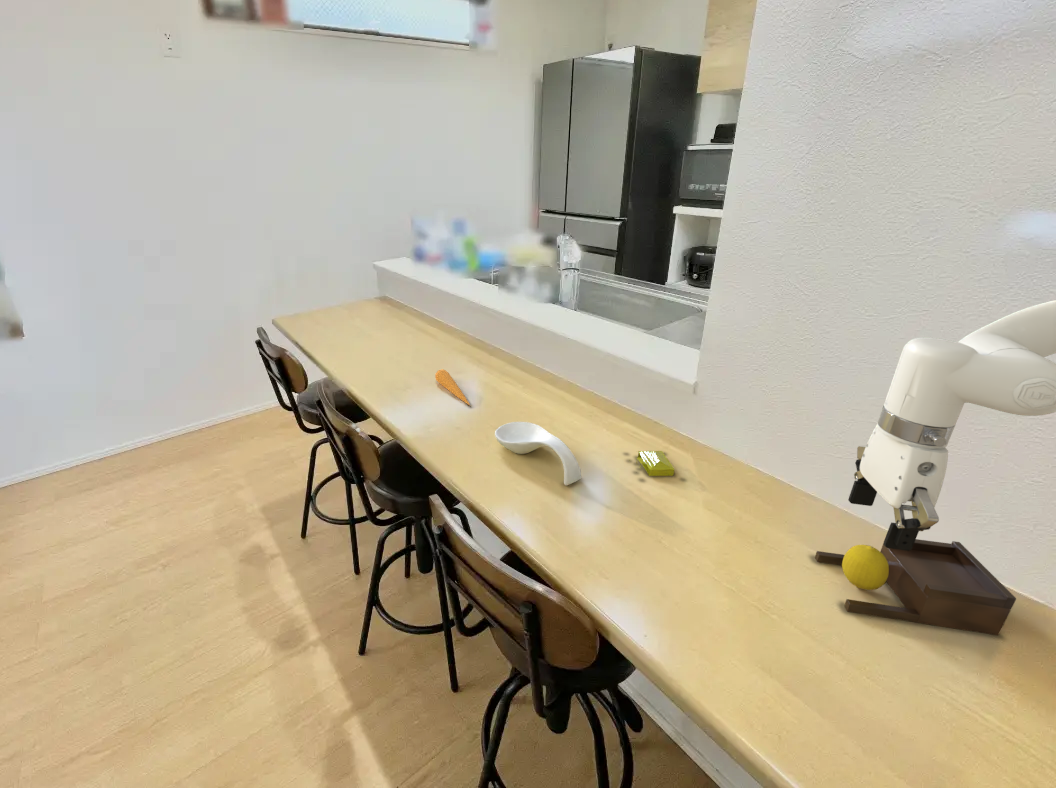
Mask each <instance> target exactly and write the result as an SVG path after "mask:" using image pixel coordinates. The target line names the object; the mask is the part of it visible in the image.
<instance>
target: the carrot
mask: <svg viewBox="0 0 1056 788" xmlns="http://www.w3.org/2000/svg"><path fill="white" fill-rule="evenodd" d="M434 377H435V381H436V382H438V383H439V384H440V385H441V386H442V387H444V388H445V389H446V390H448V391H449V392H450V393H452V394H453V395H454V396H455V397H457V398H458V399H459V400H461V401H462V402H464V403H465V404H467V405H468V406H471V404H470V402H469V400H468V399H467V396H466V395H465V394H464V392H463V391H462V390H461V388H460V387H459V385H458V384H457V382H456V381H455V380H454V378H453V377H452V375H451V374H450V373H449V372H448V371H447V370H446V369H444V368H442V369H438V370H437V371H436V372H435V376H434Z"/></svg>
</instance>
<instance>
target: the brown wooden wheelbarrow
mask: <svg viewBox="0 0 1056 788" xmlns="http://www.w3.org/2000/svg"><path fill="white" fill-rule="evenodd" d="M879 551H880V552H881V553H882V554H883V555H884V556H885V558H886V560H887V562H888V566H889V574H888V578H887V580H886V582H885V583H887V584H888V586H889V587H890V588H891V590H892V592H894V594H895V595H896V596H897V598H898V599H899V601H900V602H901V603H902V605H903V606H904V607H902V606H901V607H900V606H895V605H890V604H889V605H888V604H881V603H876V602H870V601H863V600H856V599H849V598H846V600H845V602H844V605H843V606H844V608H845V610H846V612H848V613H855V614H859V615H860V614H861V615H866V616H873V617H879V618H885V619H890V620H891V619H892V620H897V621H906V622H910V623H916V624H917V623H918V624H923V625H929V626H936V627H941V628H944V627H945V628H949V629H955V630H961V631H962V630H963V631H966V632H967V631H969V632H975V633H979V634H987V635H992V636H993V635H995V636H999V635H1000V633H1001V631H1002V630H1003V626H1004V625H1005V622H1006V621H1007V619H1008V617H1009V615H1010V613H1011V611H1012V609H1013V607H1014V605H1015V602H1016V600H1017V597H1016V596H1015V595H1014V594H1013V593H1012V592H1010V590H1009V589H1007V587H1006V586H1004V584H1002V583H1001V582H1000V580H999V579H998V578H997V577H995V576H994V575H993V573H992V572H991V571H990V570H988V569H987V568H986V567H985V565H983V563H982V562H981V561H979V560H978V558H976V557H975V556H974V555H973V554H972V553H971V552H970V551H969V550H968V548H966V546H964V545H963V544H962V543H961V542H960V541H955V540H952V541H951V543H950V542H949V543H948V542H943V541H942V542H940V541H933V540H926V539H917V538H916V540H915V542H914V544H913V547H912V549H911V550H910V551H906V550H899V549H892V548H887V547H885V545H884V544H883V543H882V545H881V548H880V550H879ZM844 555H845V554H842V553H841V554H840V553H836V552H828V551H820V550H816V552H815V556H814V559H815V561H816V562H817V563H823V564H829V565H838V566H842V561H843V558H844Z"/></svg>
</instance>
